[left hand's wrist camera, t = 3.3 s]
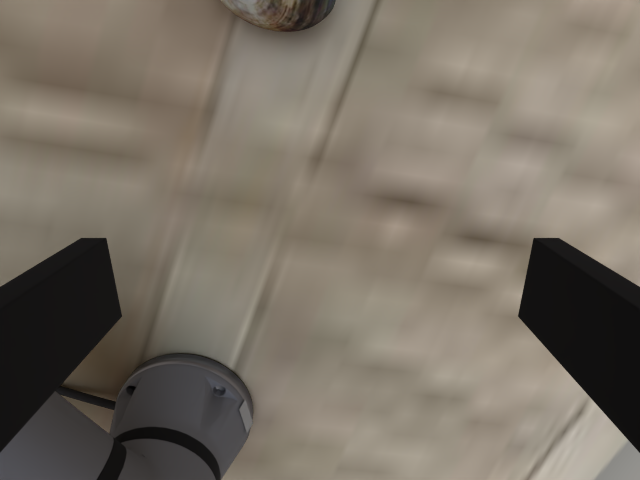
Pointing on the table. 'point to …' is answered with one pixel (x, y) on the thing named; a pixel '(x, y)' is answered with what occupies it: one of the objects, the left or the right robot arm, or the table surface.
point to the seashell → (281, 12)
